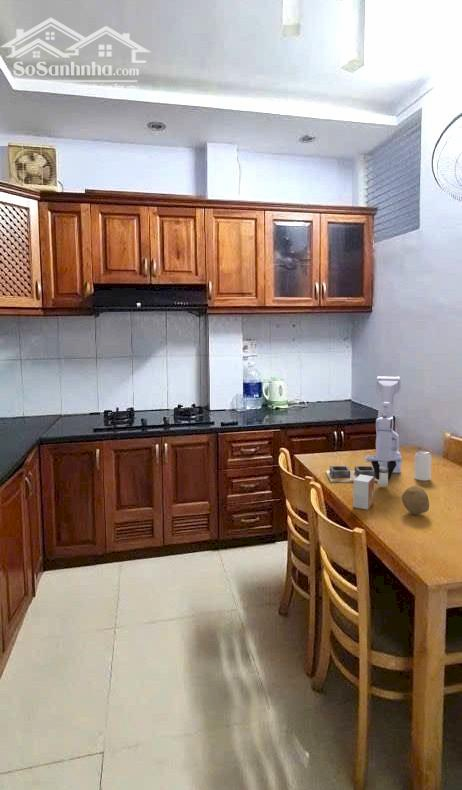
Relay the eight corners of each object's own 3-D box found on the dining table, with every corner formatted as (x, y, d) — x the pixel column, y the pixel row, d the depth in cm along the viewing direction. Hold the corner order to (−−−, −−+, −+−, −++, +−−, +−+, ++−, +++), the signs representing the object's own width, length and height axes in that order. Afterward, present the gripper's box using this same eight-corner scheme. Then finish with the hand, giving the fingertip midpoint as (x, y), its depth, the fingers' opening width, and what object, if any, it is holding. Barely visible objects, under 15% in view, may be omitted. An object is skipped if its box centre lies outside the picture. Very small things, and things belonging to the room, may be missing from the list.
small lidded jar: (386, 483, 195) (387, 466, 194) (389, 486, 191) (389, 469, 190) (376, 483, 195) (376, 466, 194) (379, 486, 191) (379, 469, 190)
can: (431, 481, 200) (433, 454, 198) (415, 480, 201) (416, 453, 199) (428, 476, 206) (429, 450, 204) (413, 476, 207) (414, 449, 206)
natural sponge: (400, 507, 172) (401, 481, 170) (427, 510, 169) (428, 483, 167) (401, 517, 163) (402, 489, 162) (429, 520, 160) (430, 492, 159)
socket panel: (372, 472, 214) (372, 463, 213) (380, 482, 200) (381, 473, 199) (325, 472, 215) (326, 464, 214) (330, 482, 201) (330, 473, 200)
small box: (367, 510, 170) (368, 482, 168) (352, 507, 173) (353, 479, 171) (374, 503, 177) (374, 476, 175) (359, 500, 180) (359, 473, 178)
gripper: (368, 449, 187) (367, 482, 189) (405, 449, 186) (404, 482, 188) (364, 444, 194) (363, 476, 196) (399, 444, 193) (398, 476, 195)
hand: (383, 478), depth 192 cm, fingers closed on small lidded jar, 4 cm apart
